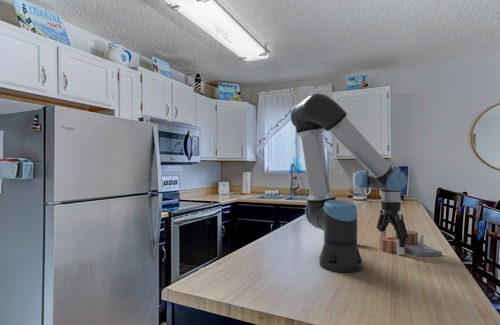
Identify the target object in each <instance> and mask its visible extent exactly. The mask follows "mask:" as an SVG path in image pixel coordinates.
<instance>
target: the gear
mask: <svg viewBox="0 0 500 325" xmlns="http://www.w3.org/2000/svg"><path fill="white" fill-rule="evenodd" d="M379 250H380V252H385V253H388V254H392V253H393V254H397V238H396V236H387V235H386V236H385V237H380V236H379Z"/></svg>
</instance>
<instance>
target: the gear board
mask: <svg viewBox="0 0 500 325" xmlns="http://www.w3.org/2000/svg"><path fill="white" fill-rule="evenodd" d="M406 231H407V234H408V239H405V247H404V252H405V253H408V254H411V255H413V256H415V257H437V256H438V257H439V256H440V257H441V256H443V251H440V250H438V249H436V248H433V247H430V246H428V245H425V244H424V234H422V233H421V234H420V233H418V231H414V230H409V228H408V227H406ZM395 237H396V238H398V236H397V234H396V233H395Z"/></svg>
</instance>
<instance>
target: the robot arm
mask: <svg viewBox="0 0 500 325" xmlns="http://www.w3.org/2000/svg"><path fill="white" fill-rule="evenodd" d="M290 122H291V124H292V125H293V126H294V127H295V130H296V135H298V136H299V137H300V138H301V139H300V140H301V146H302V151H303V158H304V159H303V160H304V165H305V171H306V178H307V184H308V185H307V186H308V191H309V193H308V194H309V195H308V196H307V197H306V203H307V204H306V206H305V207H304V214H305V215H304V216H305V218H306V220H307V222H308V223H309V224H310V225H311V226H313V227H314V228H316V229H319V230H322V231H323V238H324V239H323V241H324V242H323V246H322V249H321V253H320V256H319V261H318V263H319V264H318V265H319V266H320V267H322V268H323V269H325V270H329V271H333V272H338V273H356V272H359V271H361V270H362V269H363V260H362V256H361V253H360V251H359V247H358V209H357V206H356V204H354V203H353V202H351V201H347V200H342V199H336V194H334V193H333V192H332V191H331V186H330V177H329V171H328V165H327V159H326V152H325V144H324V138H323V133H324V132H325V131H326V132H330V133H331V134H332V135H333V136H334V137H335V138H336V139H337V140H338V141H339V142H340V143H341V145H343V146H344V148H346V150H347V151H348V152H349V153H350V154H351V155H352V156H353V158H355V159H356V161H358V163H359V164H361V166H362V167H363V168H364V169H365V170H359V171H356V173H355V175H354V182H355V185H356V187H358V188H359V189H364V190H365V189H375V190H381V192H380V193H381V194H380V198H381V202H380V203H381V206H380V207H381V209H380V210H379V217H378V220H377V224H376V229H377V230H378V232H379V238H380V237H385V236H387V228H388V226H389V224H390V225H392V227H393V229H394V231H395V235H396V234H397V236H398V238H397V253H396V255H397V256H405V253H406V252H405V251H404V247H405V239H408V234H407V231H406V228H407V227H406V225H405V221H404V214H399V212H400V211H401V210H402V209H401V202H400V201H401V191H403V189H405V187H406V185H407V183H408V180H407V176H406V174H405V173H404V172H402V171H401V169H400V167H399V166H398V165H390V164H389V163H388V162H387V160H386V159H384V158H383V156H382V155H381V154H380V152H378V151H377V150H376V148H375V147H374V146H373V145H372V144H371V143H370V142H369V141H368V140H367V139H366V137H365V136H364V135H363V134H362V133H361V132H360V131H359V129H357V127H356V126H355V125H354V123H352V122H351V121H350V119H349V118H348V113H347V112H346V111H345V109H343V108H342V106H340V104H339V103H338V102H336V101H335V100H334V99H332V98H330V97H329V96H328V95H326V94H323V93H314V94H310V95H309V96H307V97H305V98H303V99H301V100H299V101H298V102H297V103H296V104H295V105H293V107H292V109H291V111H290Z"/></svg>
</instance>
